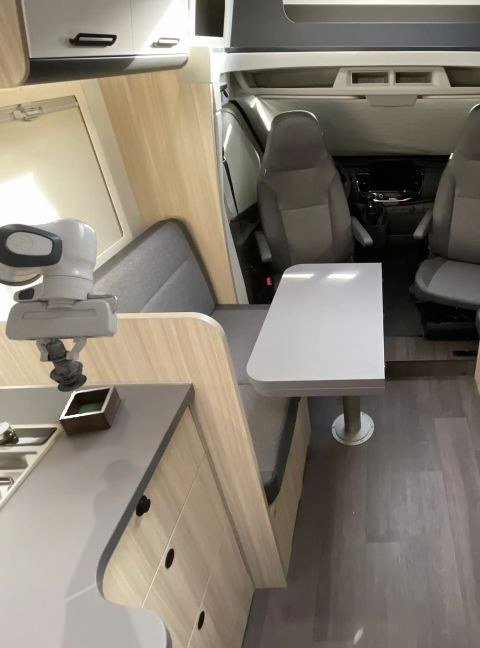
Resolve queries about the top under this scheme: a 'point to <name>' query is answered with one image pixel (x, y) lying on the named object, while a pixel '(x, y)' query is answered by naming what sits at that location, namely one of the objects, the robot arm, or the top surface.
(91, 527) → the top surface
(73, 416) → the open brown box
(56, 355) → the dark grey chess piece
